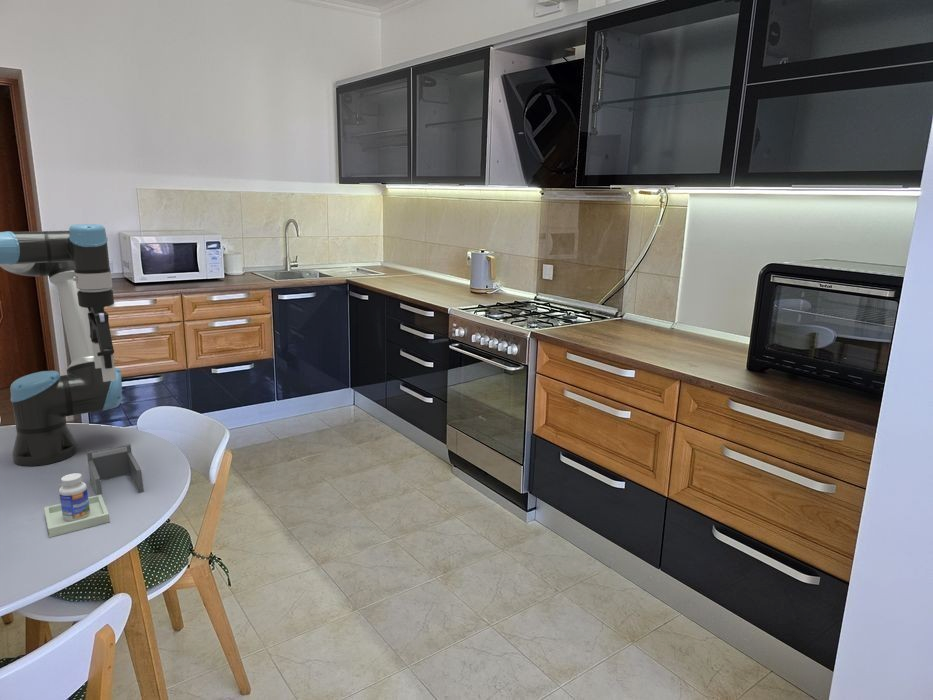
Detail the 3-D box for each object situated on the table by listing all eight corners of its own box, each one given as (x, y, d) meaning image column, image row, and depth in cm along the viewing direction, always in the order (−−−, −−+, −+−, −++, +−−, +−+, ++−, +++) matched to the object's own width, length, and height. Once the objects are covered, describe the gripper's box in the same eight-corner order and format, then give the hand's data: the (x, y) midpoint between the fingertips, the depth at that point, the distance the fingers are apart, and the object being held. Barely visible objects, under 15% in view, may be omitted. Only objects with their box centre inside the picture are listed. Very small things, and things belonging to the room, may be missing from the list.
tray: (45, 515, 147) (44, 507, 147) (102, 501, 154) (101, 494, 153) (49, 537, 138) (48, 529, 138) (109, 521, 145) (108, 514, 144)
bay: (90, 480, 164) (86, 452, 163) (133, 471, 170) (130, 443, 168) (98, 502, 154) (94, 471, 152) (143, 491, 159) (140, 462, 157)
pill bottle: (77, 523, 143) (71, 483, 141) (57, 520, 144) (51, 480, 142) (96, 511, 148) (90, 473, 146) (76, 508, 149) (70, 470, 147)
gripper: (71, 283, 161) (81, 364, 166) (83, 298, 141) (95, 389, 147) (104, 281, 165) (114, 360, 170) (121, 295, 146) (131, 384, 151)
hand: (105, 374), depth 159 cm, fingers open, 13 cm apart
